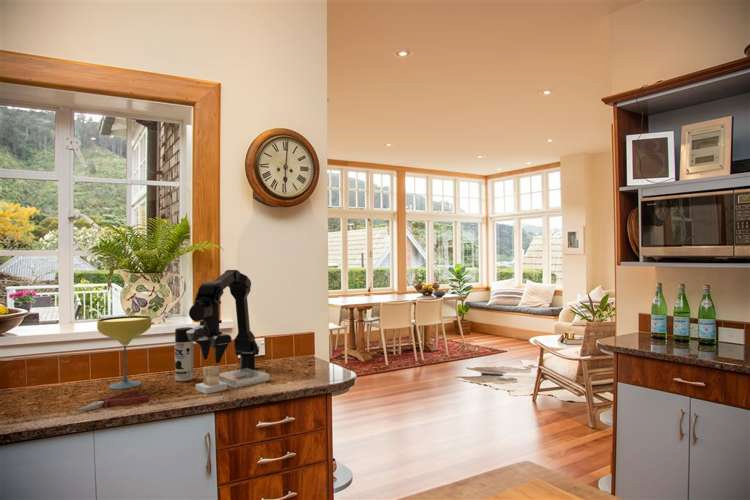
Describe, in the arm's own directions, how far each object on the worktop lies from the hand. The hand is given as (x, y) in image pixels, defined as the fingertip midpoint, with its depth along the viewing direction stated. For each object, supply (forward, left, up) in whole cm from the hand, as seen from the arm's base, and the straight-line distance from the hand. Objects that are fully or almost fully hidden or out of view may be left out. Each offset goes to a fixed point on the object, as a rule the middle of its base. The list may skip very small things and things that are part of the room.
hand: (211, 361), depth 173 cm
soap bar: (0, 0, -10) cm, 10 cm away
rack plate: (-3, +14, -10) cm, 17 cm away
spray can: (-22, 0, -10) cm, 24 cm away
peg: (0, 0, -8) cm, 8 cm away
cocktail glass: (-30, -19, -10) cm, 37 cm away
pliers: (-9, -30, -11) cm, 33 cm away
